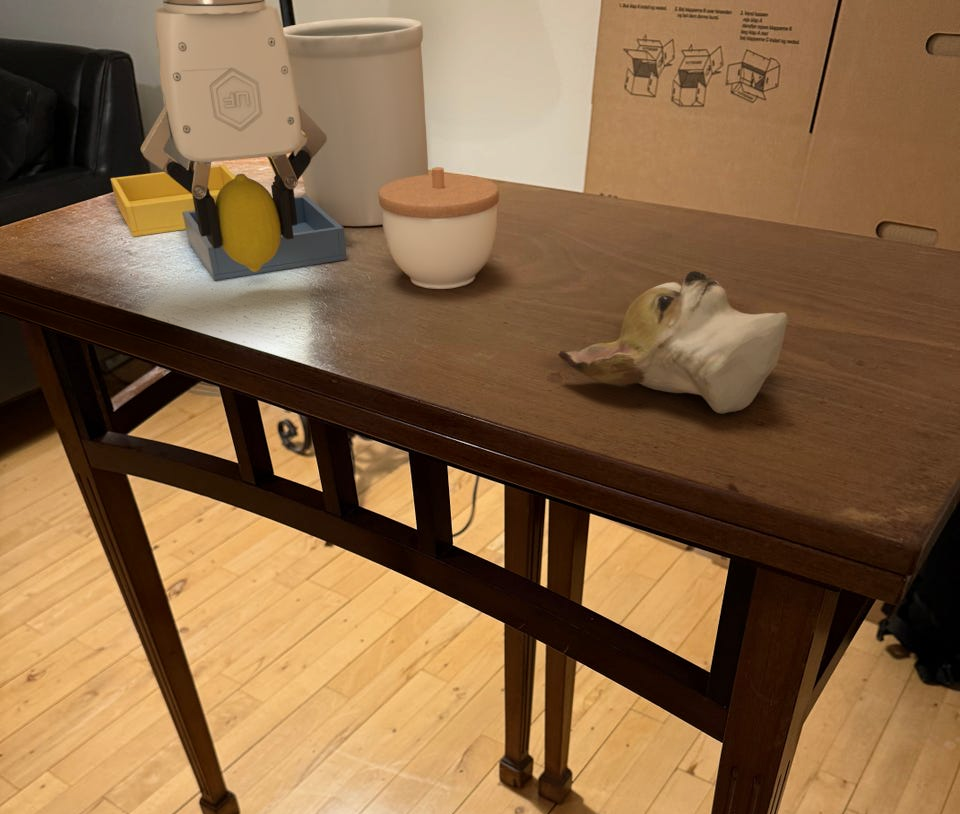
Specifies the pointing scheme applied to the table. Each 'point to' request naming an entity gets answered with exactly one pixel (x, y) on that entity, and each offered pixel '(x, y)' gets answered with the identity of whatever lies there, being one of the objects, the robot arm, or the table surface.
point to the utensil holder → (360, 109)
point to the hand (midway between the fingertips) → (250, 237)
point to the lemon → (248, 222)
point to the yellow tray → (160, 200)
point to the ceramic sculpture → (688, 345)
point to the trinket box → (440, 226)
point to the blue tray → (310, 245)
